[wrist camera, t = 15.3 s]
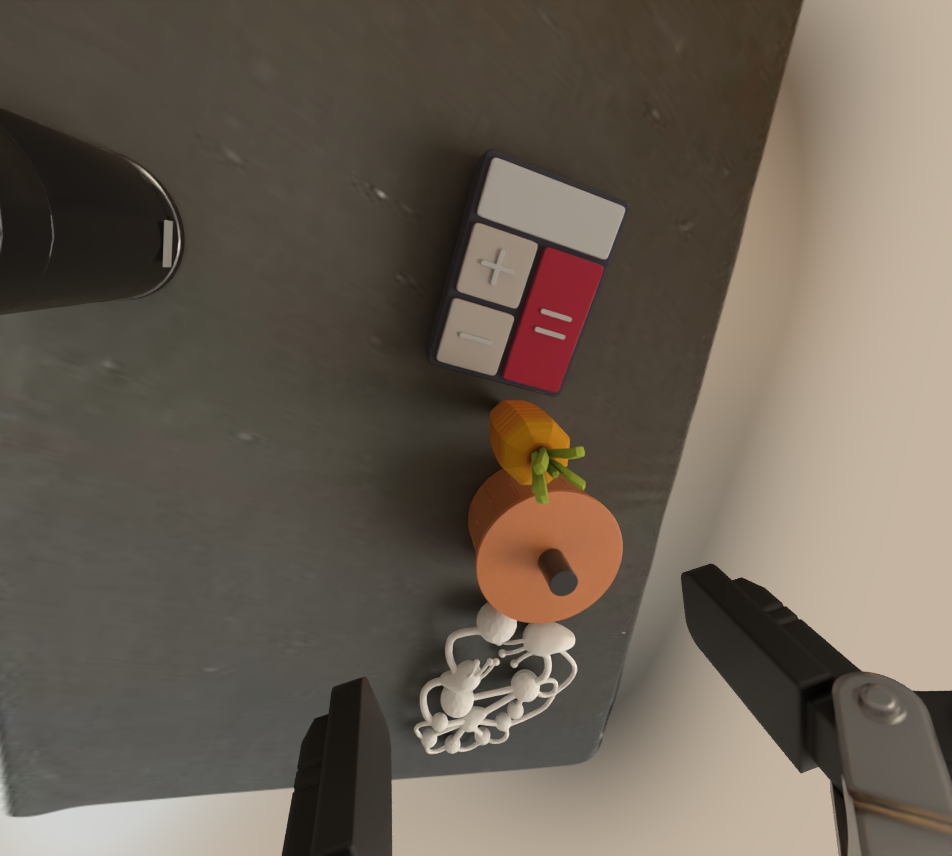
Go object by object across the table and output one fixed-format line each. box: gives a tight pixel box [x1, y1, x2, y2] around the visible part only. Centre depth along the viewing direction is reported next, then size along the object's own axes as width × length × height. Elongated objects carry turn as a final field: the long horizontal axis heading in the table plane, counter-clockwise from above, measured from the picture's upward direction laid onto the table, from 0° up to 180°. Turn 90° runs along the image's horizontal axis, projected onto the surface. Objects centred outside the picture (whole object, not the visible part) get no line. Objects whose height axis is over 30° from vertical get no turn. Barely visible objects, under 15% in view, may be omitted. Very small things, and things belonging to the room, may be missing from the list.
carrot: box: [489, 400, 586, 504], centre depth 35 cm, size 5×5×15 cm
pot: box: [468, 468, 587, 554], centre depth 42 cm, size 11×11×7 cm
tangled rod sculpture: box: [414, 602, 577, 754], centre depth 49 cm, size 19×14×4 cm
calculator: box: [426, 149, 630, 397], centre depth 37 cm, size 11×4×15 cm
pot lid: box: [475, 489, 623, 623], centre depth 38 cm, size 12×12×4 cm
